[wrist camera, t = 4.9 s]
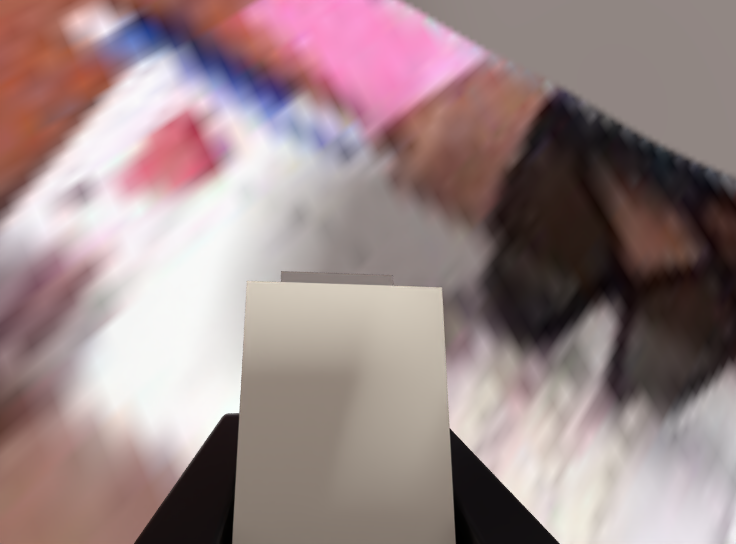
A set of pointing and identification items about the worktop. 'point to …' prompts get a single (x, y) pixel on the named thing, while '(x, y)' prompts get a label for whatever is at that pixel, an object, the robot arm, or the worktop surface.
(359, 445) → the cream rectangular block
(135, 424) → the worktop surface
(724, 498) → the worktop surface
